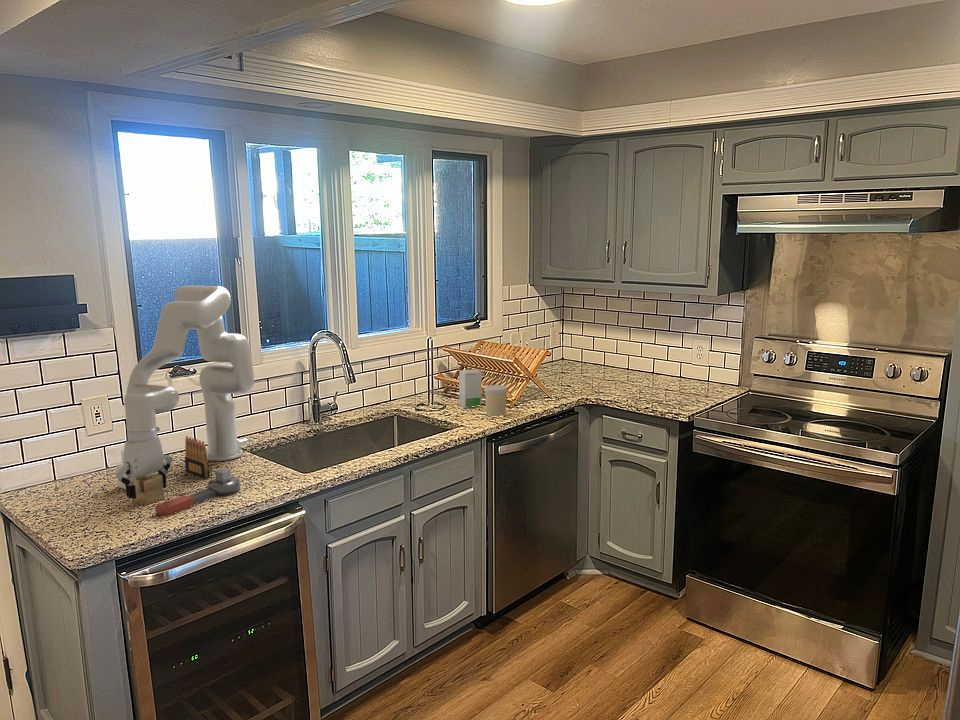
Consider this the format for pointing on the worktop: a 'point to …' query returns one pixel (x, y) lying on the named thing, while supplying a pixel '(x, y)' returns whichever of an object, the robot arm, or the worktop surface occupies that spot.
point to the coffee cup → (495, 399)
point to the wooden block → (148, 488)
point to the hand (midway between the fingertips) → (147, 492)
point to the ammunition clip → (196, 458)
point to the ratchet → (202, 493)
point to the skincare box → (470, 388)
